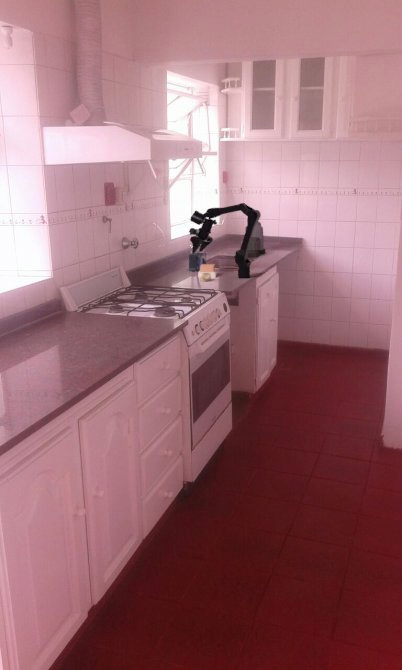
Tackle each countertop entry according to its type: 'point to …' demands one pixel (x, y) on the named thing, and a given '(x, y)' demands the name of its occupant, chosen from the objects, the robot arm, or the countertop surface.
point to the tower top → (207, 268)
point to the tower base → (213, 274)
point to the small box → (196, 261)
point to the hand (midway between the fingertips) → (196, 252)
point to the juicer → (256, 242)
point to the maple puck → (205, 277)
